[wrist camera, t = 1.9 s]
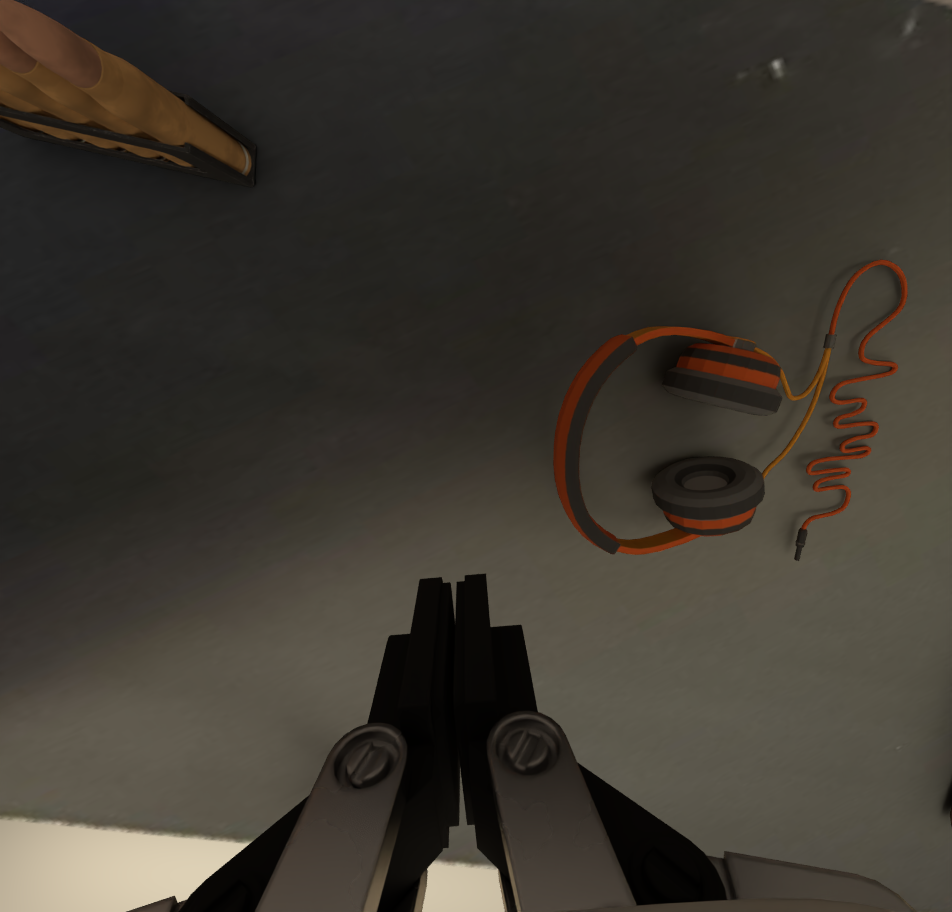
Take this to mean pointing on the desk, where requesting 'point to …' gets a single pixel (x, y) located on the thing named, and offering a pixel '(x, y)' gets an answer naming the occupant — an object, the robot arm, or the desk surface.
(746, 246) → the desk surface
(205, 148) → the ammunition clip
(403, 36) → the desk surface
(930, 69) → the desk surface
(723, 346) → the headphones
